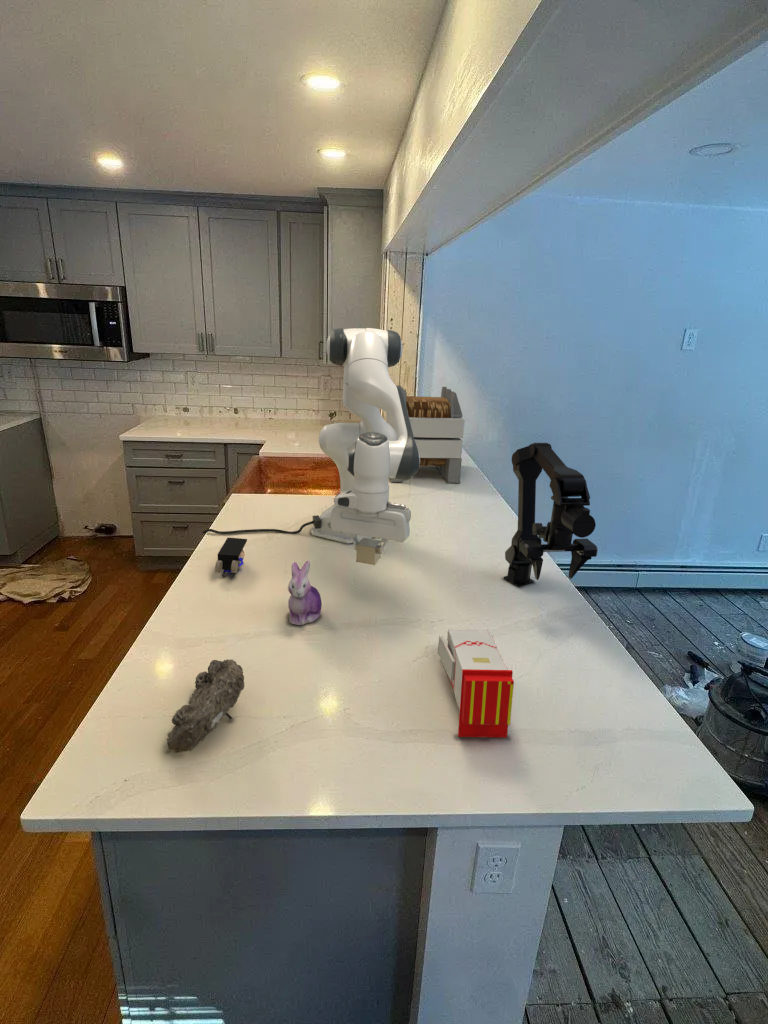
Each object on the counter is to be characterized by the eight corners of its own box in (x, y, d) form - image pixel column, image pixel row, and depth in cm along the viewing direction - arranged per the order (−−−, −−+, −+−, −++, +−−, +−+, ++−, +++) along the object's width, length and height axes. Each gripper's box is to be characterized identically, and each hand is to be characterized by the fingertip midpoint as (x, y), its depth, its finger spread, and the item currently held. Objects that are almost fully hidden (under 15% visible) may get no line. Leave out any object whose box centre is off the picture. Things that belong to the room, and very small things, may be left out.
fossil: (192, 660, 117) (244, 628, 112) (224, 691, 120) (276, 661, 115) (142, 746, 98) (202, 712, 93) (182, 779, 101) (242, 748, 96)
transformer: (382, 463, 289) (386, 382, 275) (445, 464, 293) (451, 384, 279) (390, 482, 257) (394, 392, 243) (460, 483, 261) (468, 394, 247)
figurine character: (238, 584, 162) (249, 557, 175) (236, 562, 158) (247, 536, 172) (215, 584, 161) (227, 556, 175) (212, 561, 158) (225, 535, 171)
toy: (488, 613, 130) (523, 677, 101) (484, 667, 133) (517, 744, 104) (435, 612, 130) (455, 676, 101) (432, 666, 133) (451, 743, 103)
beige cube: (374, 565, 142) (375, 547, 140) (355, 562, 143) (356, 544, 142) (381, 557, 146) (381, 540, 145) (363, 554, 148) (363, 537, 146)
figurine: (293, 630, 138) (292, 574, 133) (280, 610, 146) (279, 557, 141) (329, 622, 142) (330, 568, 137) (314, 603, 150) (315, 552, 145)
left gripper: (414, 502, 139) (411, 553, 144) (338, 490, 145) (337, 540, 150) (407, 509, 134) (404, 563, 138) (328, 497, 140) (327, 549, 144)
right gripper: (581, 510, 150) (572, 564, 155) (514, 511, 147) (507, 566, 152) (603, 526, 140) (592, 582, 145) (532, 527, 137) (523, 585, 142)
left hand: (368, 551), depth 144 cm, fingers closed on beige cube, 5 cm apart
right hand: (553, 578), depth 146 cm, fingers open, 9 cm apart
